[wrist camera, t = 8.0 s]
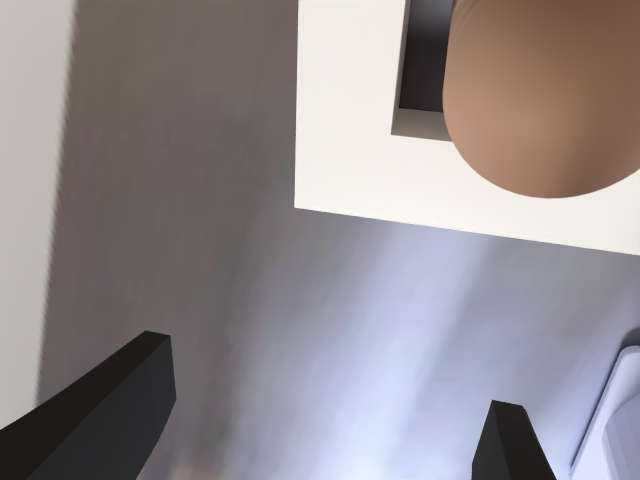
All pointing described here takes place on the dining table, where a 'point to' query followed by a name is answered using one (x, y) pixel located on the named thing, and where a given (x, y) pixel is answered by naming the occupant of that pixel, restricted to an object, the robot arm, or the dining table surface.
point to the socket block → (415, 144)
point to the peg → (545, 93)
